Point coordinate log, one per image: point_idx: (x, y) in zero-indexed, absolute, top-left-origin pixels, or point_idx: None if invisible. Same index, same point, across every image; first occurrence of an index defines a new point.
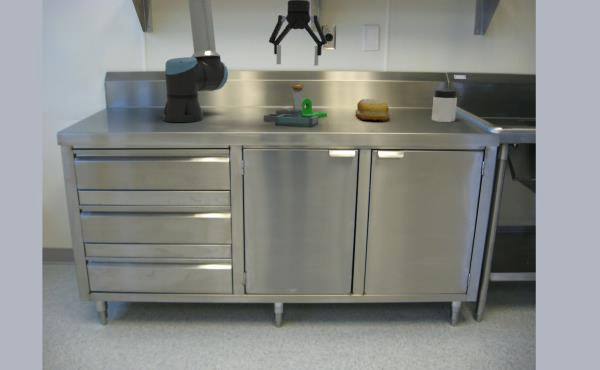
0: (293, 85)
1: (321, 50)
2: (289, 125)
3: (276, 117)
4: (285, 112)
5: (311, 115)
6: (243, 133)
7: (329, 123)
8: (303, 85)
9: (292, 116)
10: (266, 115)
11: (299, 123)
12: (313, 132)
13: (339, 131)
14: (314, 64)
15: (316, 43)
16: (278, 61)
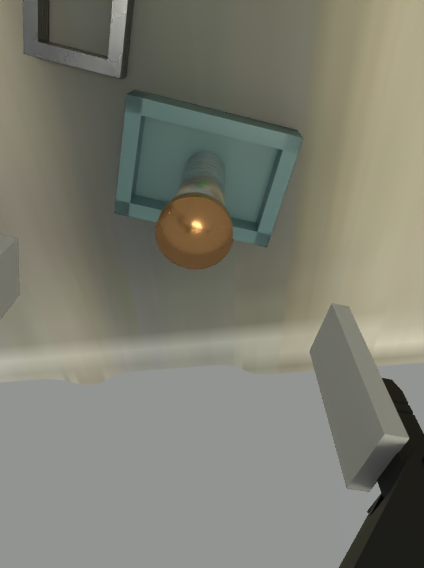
0: (170, 260)
1: (414, 421)
2: None
3: (119, 213)
4: None
5: (270, 132)
6: (73, 367)
7: (354, 97)
8: (229, 248)
9: (178, 122)
10: (33, 38)
11: None
12: (262, 336)
13: None
14: (312, 356)
15: (371, 513)
16: (8, 308)
